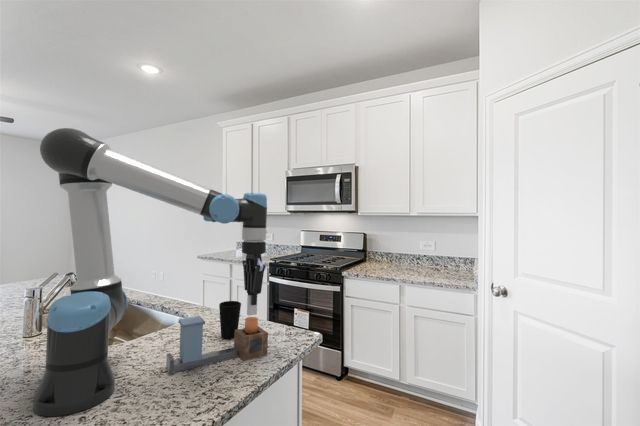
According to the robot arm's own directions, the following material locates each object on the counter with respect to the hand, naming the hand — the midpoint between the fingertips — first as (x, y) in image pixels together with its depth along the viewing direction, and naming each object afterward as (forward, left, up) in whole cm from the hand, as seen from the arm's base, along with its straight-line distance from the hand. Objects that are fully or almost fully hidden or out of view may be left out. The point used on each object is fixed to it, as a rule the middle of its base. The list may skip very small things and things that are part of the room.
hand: (251, 314), depth 100 cm
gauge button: (0, 0, -6) cm, 6 cm away
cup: (-1, +17, -13) cm, 21 cm away
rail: (-13, +1, -13) cm, 18 cm away
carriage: (-18, +1, -10) cm, 21 cm away
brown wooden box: (0, 0, -13) cm, 13 cm away
